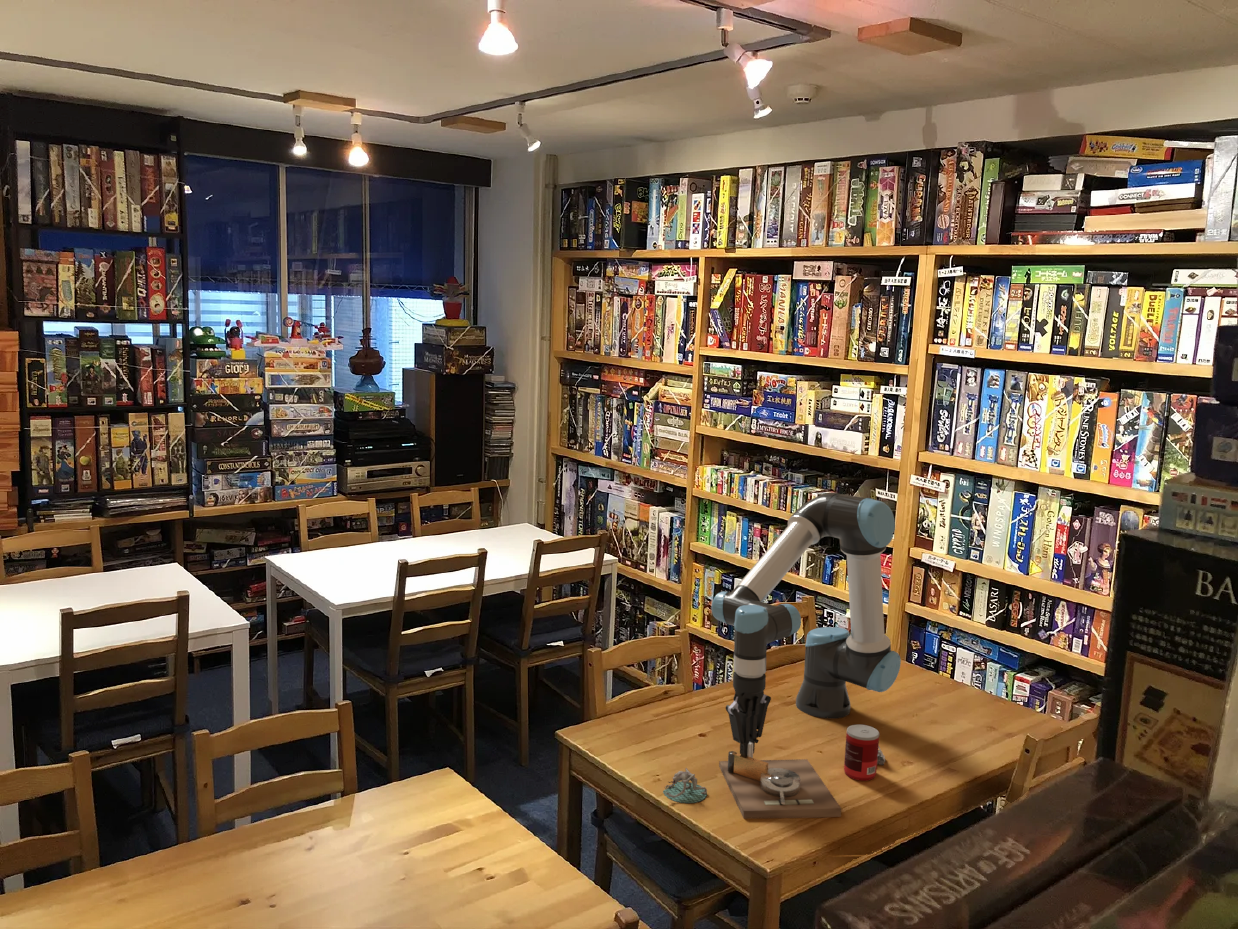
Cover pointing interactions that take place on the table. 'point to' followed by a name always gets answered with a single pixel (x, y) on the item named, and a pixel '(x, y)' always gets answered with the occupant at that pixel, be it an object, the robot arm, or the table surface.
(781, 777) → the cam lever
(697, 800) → the figurine
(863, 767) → the canned food
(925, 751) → the table surface
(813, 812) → the level stand
